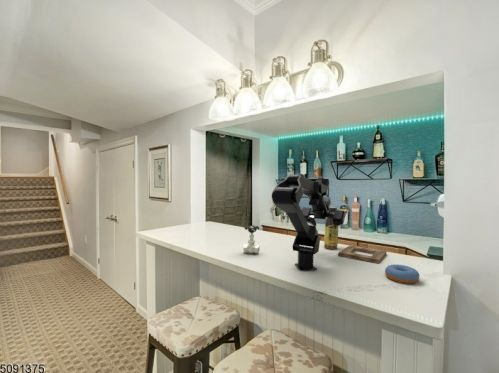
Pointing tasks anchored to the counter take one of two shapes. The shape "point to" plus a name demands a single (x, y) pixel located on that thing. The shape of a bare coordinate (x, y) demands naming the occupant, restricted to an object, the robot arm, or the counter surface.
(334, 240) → the sauce bottle
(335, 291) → the counter surface
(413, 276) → the doughnut
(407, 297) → the counter surface
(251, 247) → the valve
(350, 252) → the walnut board
